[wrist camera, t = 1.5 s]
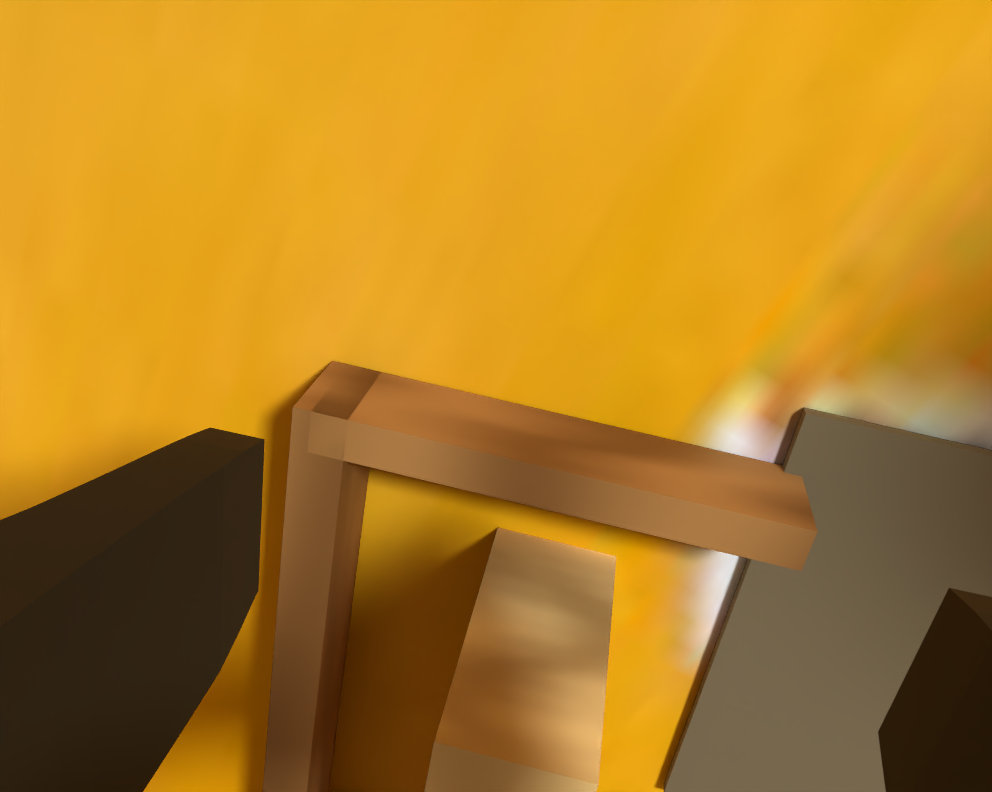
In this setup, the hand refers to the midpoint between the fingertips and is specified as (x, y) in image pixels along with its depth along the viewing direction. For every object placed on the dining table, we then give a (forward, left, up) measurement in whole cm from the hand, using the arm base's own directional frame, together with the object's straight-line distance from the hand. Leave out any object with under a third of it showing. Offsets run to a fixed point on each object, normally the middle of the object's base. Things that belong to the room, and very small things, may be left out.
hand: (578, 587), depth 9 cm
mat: (-9, +8, -11) cm, 16 cm away
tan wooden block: (0, +12, -11) cm, 16 cm away
